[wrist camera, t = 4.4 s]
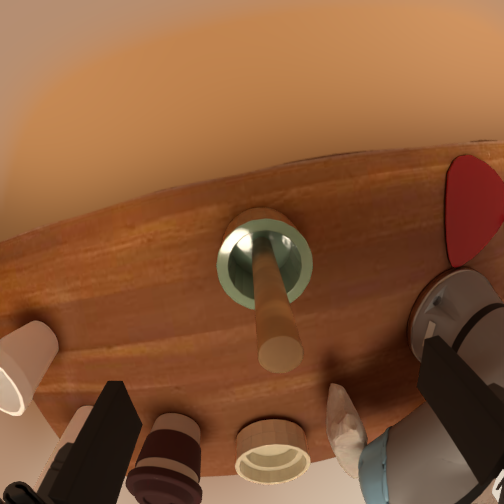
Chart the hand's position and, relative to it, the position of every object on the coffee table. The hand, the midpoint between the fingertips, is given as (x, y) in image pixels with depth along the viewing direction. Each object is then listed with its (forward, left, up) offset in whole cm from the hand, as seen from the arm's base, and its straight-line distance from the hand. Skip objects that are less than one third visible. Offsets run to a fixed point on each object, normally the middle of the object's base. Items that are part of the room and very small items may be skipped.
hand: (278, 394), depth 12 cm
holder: (0, 0, -24) cm, 24 cm away
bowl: (+2, +31, -24) cm, 39 cm away
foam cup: (+34, +10, -24) cm, 43 cm away
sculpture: (-9, +25, -24) cm, 36 cm away
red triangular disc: (-29, -1, -24) cm, 38 cm away
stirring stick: (0, 0, -24) cm, 24 cm away
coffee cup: (+16, +27, -24) cm, 40 cm away
